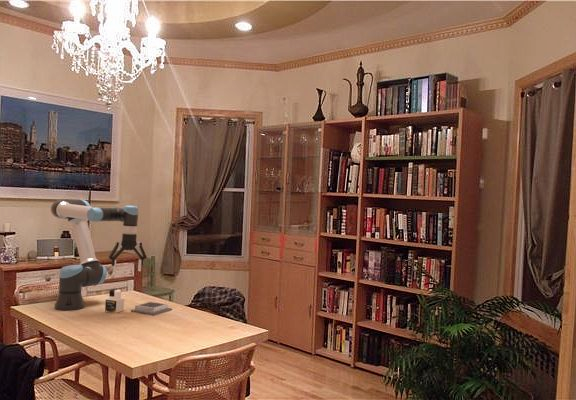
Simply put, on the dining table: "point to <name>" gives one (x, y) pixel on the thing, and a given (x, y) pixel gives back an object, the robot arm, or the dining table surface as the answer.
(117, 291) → the medicine bottle
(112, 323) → the dining table surface
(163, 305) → the square holder
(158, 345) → the dining table surface
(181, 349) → the dining table surface
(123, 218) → the robot arm
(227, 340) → the dining table surface
